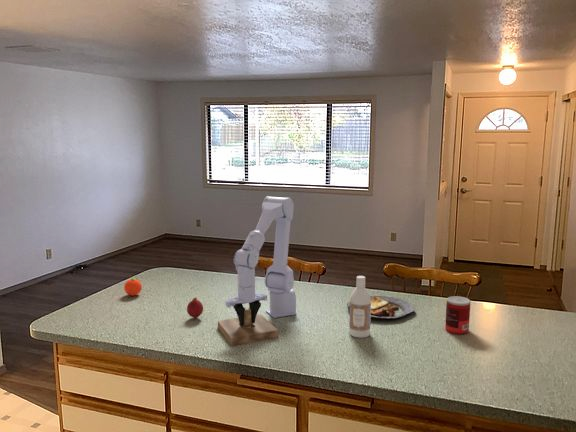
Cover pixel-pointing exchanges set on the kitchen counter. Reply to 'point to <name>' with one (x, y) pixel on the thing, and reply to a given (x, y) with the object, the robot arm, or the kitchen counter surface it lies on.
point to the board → (247, 330)
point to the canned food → (457, 315)
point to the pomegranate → (195, 308)
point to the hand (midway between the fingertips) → (247, 323)
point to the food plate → (388, 307)
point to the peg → (247, 318)
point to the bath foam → (360, 310)
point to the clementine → (132, 287)
